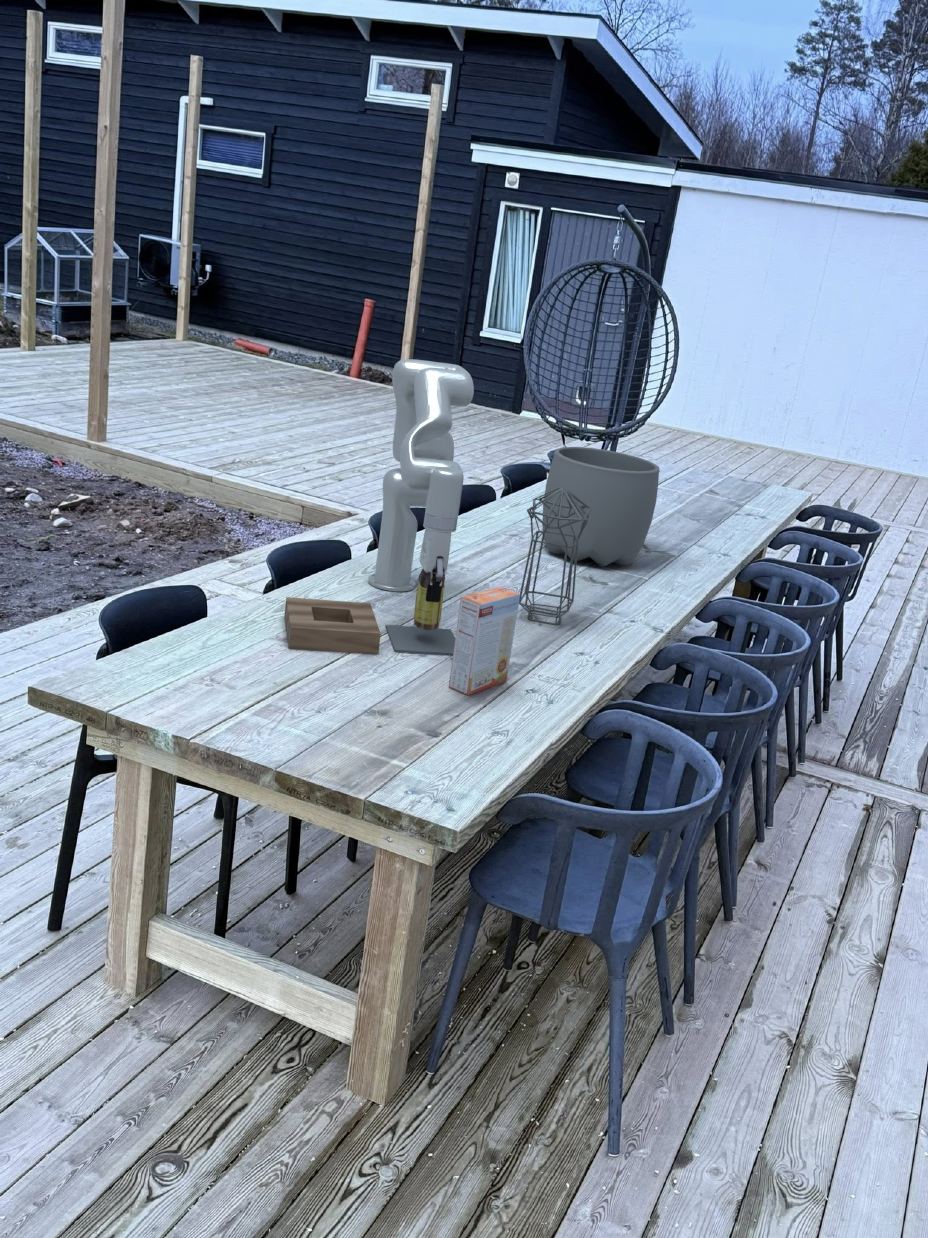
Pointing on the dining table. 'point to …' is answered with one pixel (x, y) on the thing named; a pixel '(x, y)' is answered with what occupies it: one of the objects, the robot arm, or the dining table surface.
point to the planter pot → (602, 503)
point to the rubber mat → (421, 640)
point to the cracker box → (483, 640)
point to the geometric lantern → (577, 510)
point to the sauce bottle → (427, 604)
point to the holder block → (331, 626)
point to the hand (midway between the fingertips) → (429, 595)
